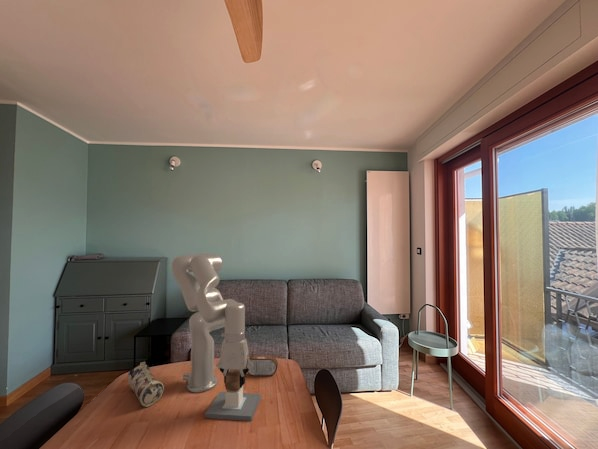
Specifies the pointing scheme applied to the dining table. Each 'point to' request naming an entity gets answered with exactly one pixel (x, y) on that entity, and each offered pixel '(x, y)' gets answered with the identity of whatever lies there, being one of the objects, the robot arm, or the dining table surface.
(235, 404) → the off-white block
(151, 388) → the pencil case
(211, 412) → the grey tray
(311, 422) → the dining table surface
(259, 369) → the tin
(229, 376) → the walnut block
